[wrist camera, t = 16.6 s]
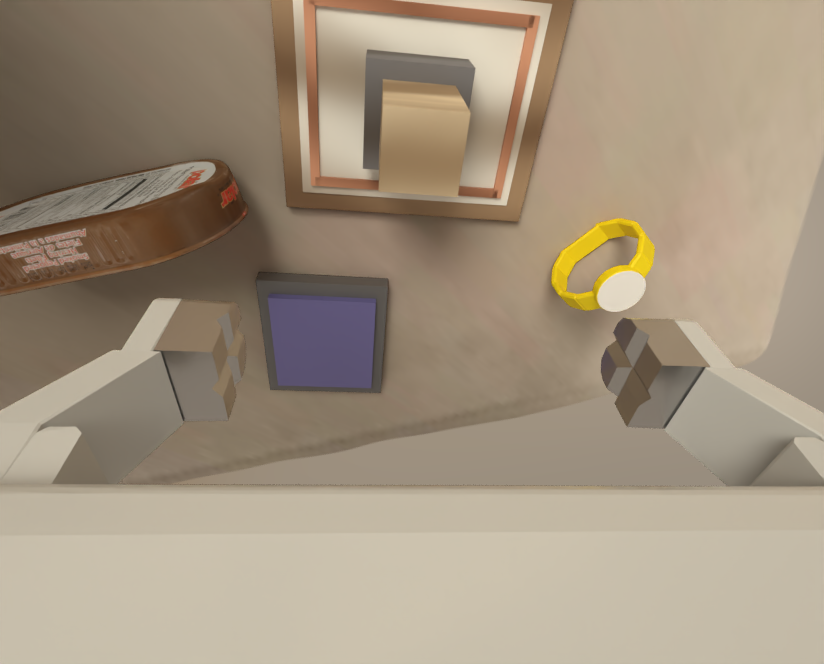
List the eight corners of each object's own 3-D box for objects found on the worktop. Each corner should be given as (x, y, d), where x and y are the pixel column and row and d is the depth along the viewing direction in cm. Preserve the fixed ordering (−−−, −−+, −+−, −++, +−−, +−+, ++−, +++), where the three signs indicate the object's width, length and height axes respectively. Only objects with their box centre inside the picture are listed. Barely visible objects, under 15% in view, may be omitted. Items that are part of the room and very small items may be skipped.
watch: (610, 197, 30) (661, 238, 25) (631, 226, 31) (683, 270, 26) (534, 261, 32) (566, 310, 27) (556, 285, 33) (591, 336, 28)
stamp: (367, 49, 23) (362, 80, 17) (468, 59, 23) (495, 92, 18) (364, 153, 26) (359, 208, 20) (453, 160, 26) (472, 215, 21)
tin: (30, 240, 29) (-72, 324, 23) (-8, 191, 27) (-131, 268, 21) (264, 190, 28) (229, 263, 21) (242, 136, 26) (195, 198, 19)
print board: (269, -57, 21) (265, -57, 20) (574, -21, 22) (580, -20, 21) (288, 202, 28) (285, 208, 28) (516, 217, 30) (519, 223, 29)
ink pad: (258, 272, 31) (254, 284, 30) (387, 278, 32) (388, 291, 31) (272, 380, 37) (269, 394, 36) (380, 383, 38) (380, 397, 37)
